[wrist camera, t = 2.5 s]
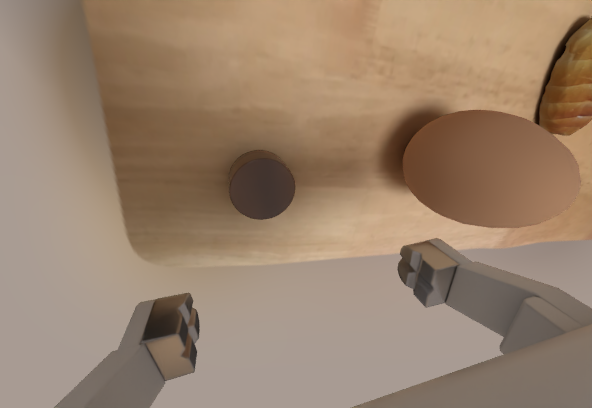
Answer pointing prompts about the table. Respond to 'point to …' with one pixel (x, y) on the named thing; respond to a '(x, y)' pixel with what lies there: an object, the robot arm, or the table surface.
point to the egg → (490, 170)
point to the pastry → (570, 87)
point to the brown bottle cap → (260, 185)
